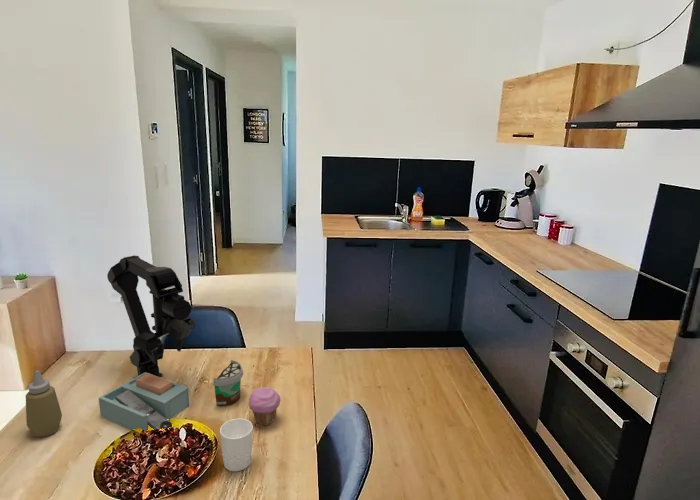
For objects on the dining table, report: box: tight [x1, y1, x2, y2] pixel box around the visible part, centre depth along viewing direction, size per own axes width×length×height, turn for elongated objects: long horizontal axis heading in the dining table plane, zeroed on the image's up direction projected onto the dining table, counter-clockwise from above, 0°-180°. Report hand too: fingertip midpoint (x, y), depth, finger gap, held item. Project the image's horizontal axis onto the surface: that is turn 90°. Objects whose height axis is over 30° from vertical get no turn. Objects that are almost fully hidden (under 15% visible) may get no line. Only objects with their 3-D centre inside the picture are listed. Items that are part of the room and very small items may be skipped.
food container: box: [212, 359, 244, 407], centre depth 139 cm, size 12×6×10 cm, turn 168°
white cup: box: [219, 418, 254, 472], centre depth 113 cm, size 8×8×10 cm
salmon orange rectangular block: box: [136, 373, 173, 396], centre depth 135 cm, size 10×4×3 cm, turn 64°
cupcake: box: [248, 386, 281, 427], centre depth 130 cm, size 9×9×10 cm
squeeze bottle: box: [25, 369, 63, 438], centre depth 121 cm, size 8×8×18 cm
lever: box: [115, 390, 173, 431], centre depth 127 cm, size 19×4×2 cm, turn 65°
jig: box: [98, 372, 190, 431], centre depth 132 cm, size 18×16×6 cm
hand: (167, 357), depth 139 cm, fingers open, 9 cm apart
